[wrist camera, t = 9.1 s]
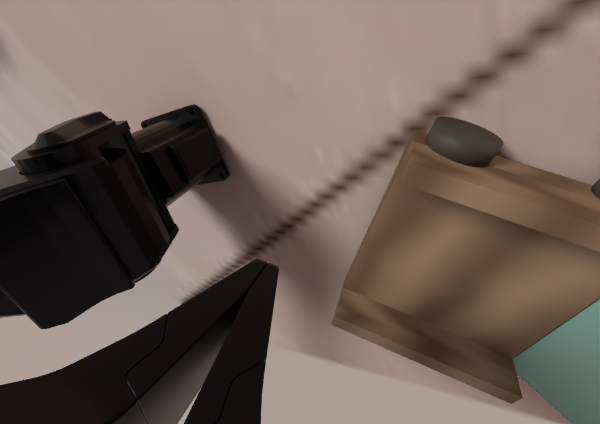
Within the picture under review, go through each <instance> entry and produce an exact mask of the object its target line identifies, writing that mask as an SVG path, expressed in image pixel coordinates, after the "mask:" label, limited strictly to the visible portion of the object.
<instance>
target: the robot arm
mask: <svg viewBox="0 0 600 424" xmlns="http://www.w3.org/2000/svg"><path fill="white" fill-rule="evenodd" d="M193 110H194V111H195V113H194V112H193ZM147 125H148V126H147ZM141 126H142V128H143V129H142V130H139V131H137V132H134V133H132V134H131V132H130V130H129V129H130V127H129V125H128V123H127V121H117V122H115V121H112V119H109V118H108V117H107V116H105V115H104V114H103V113H102V112H93V113H90V114H87V115H83V116H80V117H77V118H74V119H71V120H68V121H65V122H63V123H61V124H59V125H57V126H54V127H52V128H50V129H48V130H46V131H44V132H42V133H40V134H38V136H37V139H36V141H35V143H33V144H32V145H30V146H29V147H27V148H26V149H24V150H22V151H21V152H19V153H18V154H16V155H15V156H13V157H12V158H11V159H12V161H13V162H14V163H15V165H16V166H13V167H10V168H7V169H4V170H1V171H0V318H1V317H10V316H21V315H27V316H28V317H29V318H30V319H31V320H32V321H33V322H34V323H35V324H36V325H37V326H38V327H39V328H41V329H47V328H51V327H55V326H58V325H61V324H65V323H68V322H69V321H71V320H73V319H74V318H76V317H77V316H79V315H80V314H82V313H83V312H85V311H86V310H88V309H89V308H91V307H92V306H94V305H96V304H97V303H99V302H101V301H103V300H104V299H107V298H109V297H111V296H113V295H115V294H117V293H120V292H123V291H126V290H129V289H132V288H133V287H134V286H135V284H134V283H136V282H138V281H140V280H141V279H143V278H145V277H146V276H147V275H149V274H150V273H151V272H152V271H153V270H154V269H155V268H156V266H157V265H158V264H159V263H160V261H161V259H162V257H163V256H164V254H165V252H166V251H167V249H168V247H169V246H170V244H171V243H172V241H173V239H174V238H175V236H176V234H177V233H178V231H179V229H178V227H177V225H176V224H175V223H174V221H173V219H172V217H171V215H170V213H169V211H168V209H167V207H168V206H169V205H170V204H172V203H173V202H174V201H176V200H177V199H178V198H179V197H181V196H182V195H183V194H185V193H186V192H187V191H189V190H190V189H191V188H193V187H194V186H195V185H199V184H205V183H211V182H217V181H223V180H226V179H227V178H228V177H229V172H228V170H227V167H226V165H225V163H224V161H223V159H222V156H221V154H220V152H219V150H218V148H217V146H216V143H215V141H214V139H213V137H212V135H211V132H210V130H209V128H208V126H207V124H206V122H205V119H204V117H203V115H202V113H201V111H200V109H199V107H198V106H197V105H195V104H193V105H189V106H186V107H183V108H180V109H177V110H174V111H171V112H168V113H165V114H162V115H159V116H157V117H154V118H151V119H148V120H145V121H143V122H142V123H141ZM222 173H223V174H224V175H223V174H222ZM278 272H279V267H278V266H275V265H273V264H271V263H269V264H268V263H267V262H266V261H263V260H261V259H255V260H254V261H252V262H250V263H249V264H247V265H245V266H244V267H242V268H240V269H239V270H237V271H236V272H234V273H232V274H231V275H229V276H227V277H226V278H224V279H223V280H221V281H219V282H218V283H216V284H214V285H213V286H211V287H209V288H208V289H206V290H205V291H203V292H201V293H200V294H198V295H196V296H195V297H193V298H192V299H190V300H188V301H187V302H185V303H183V304H182V305H180V306H179V307H177V308H175V309H174V310H172V311H170V312H169V313H168V315H167V314H165V315H164V316H162V317H160V318H159V319H157V320H156V321H154V322H152V323H150V324H149V325H147V326H145V327H144V328H142V329H140V330H138V331H137V332H135V333H133V334H131V335H129V336H127V337H125V338H123V339H121V340H119V341H117V342H115V343H113V344H111V345H109V346H107V347H105V348H103V349H101V350H99V351H97V352H95V353H93V354H91V355H89V356H87V357H85V358H83V359H81V360H79V361H77V362H75V363H73V364H71V365H69V366H66V367H64V368H62V369H60V370H57V371H55V372H52V373H49V374H46V375H43V376H39V377H36V378H31V379H27V380H22V381H18V382H13V383H8V384H4V385H0V424H178V422H179V420H180V419H181V417H182V416H183V414H184V413H185V411H186V410H187V408H188V407H189V405H190V404H191V402H192V401H193V399H194V397H195V396H196V394H197V393H198V391H199V390H200V388H201V387H202V388H201V390H200V392H199V394H198V396H197V398H196V400H195V402H194V404H193V406H192V408H191V410H190V412H189V414H188V416H187V418H186V420H185V422H184V424H261V403H262V388H263V379H264V372H265V364H266V357H267V349H268V343H269V336H270V329H271V321H272V314H273V307H274V300H275V293H276V286H277V279H278Z"/></svg>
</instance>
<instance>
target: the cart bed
mask: <svg viewBox="0 0 600 424" xmlns="http://www.w3.org/2000/svg"><path fill="white" fill-rule="evenodd" d="M502 145H503V141H502V140H501V139H500V138H499V137H498V136H497V135H495V134H494V133H492V132H490V131H488V130H486V129H484V128H482V127H480V126H477V125H475V124H472V123H469V122H466V121H463V120H459V119H455V118H449V117H439V118H437V119H436V120H435V122H434V124H433V126H432V128H431V130H430V132H429V134H426V133H423V132H419V131H416V130H414V131H413V133H412V136H411V138H410V140H409V142H408V144H407V146H406V148H405V151H404V153H403V155H402V157H401V159H400V161H399V164H398V166H397V168H396V170H395V172H394V174H393V177H392V179H391V181H390V183H389V185H388V187H387V190H386V192H385V194H384V196H383V198H382V200H381V203H380V205H379V207H378V209H377V211H376V213H375V216H374V218H373V220H372V222H371V224H370V226H369V229H368V231H367V233H366V235H365V237H364V239H363V241H362V244H361V246H360V248H359V250H358V252H357V254H356V257H355V259H354V261H353V263H352V265H351V267H350V270H349V272H348V274H347V276H346V278H345V281H344V284H343V288H342V291H341V294H340V298H339V301H338V304H337V308H336V311H335V314H334V318H333V321H332V325H334V326H336V327H338V328H341V329H343V330H345V331H347V332H350V333H352V334H354V335H357V336H359V337H361V338H363V339H366V340H368V341H370V342H372V343H375V344H377V345H379V346H381V347H384V348H386V349H388V350H391V351H393V352H395V353H397V354H400V355H402V356H404V357H406V358H409V359H411V360H413V361H416V362H418V363H420V364H422V365H425V366H427V367H429V368H431V369H434V370H436V371H438V372H440V373H443V374H445V375H447V376H450V377H452V378H454V379H456V380H459V381H461V382H463V383H465V384H468V385H470V386H472V387H475V388H477V389H479V390H481V391H484V392H486V393H488V394H490V395H493V396H495V397H497V398H500V399H502V400H504V401H506V402H509V403H511V404H512V403H514V402H516V401H518V400H519V399H521V398H522V394H521V390H520V386H519V382H518V378H517V374H516V370H515V366H514V363H513V359H512V358H513V357H515V356H516V355H518V354H519V353H520V352H522V351H523V350H525V349H526V348H528V347H529V346H531V345H532V344H533V343H535V342H536V341H538V340H539V339H541V338H542V337H544V336H545V335H547V334H548V333H549V332H551V331H552V330H554V329H555V328H557V327H558V326H560V325H561V324H562V323H564V322H565V321H567V320H568V319H570V318H571V317H573V316H574V315H575V314H577V313H578V312H580V311H581V310H583V309H584V308H586V307H587V306H589V305H590V304H591V303H593V302H594V301H596V300H597V299H599V298H600V179H599V180H598V181H597V182H596V183H595V184H594V185H593V186H592V185H589V184H586V183H582V182H579V181H576V180H573V179H570V178H566V177H563V176H560V175H557V174H554V173H550V172H547V171H544V170H541V169H538V168H534V167H531V166H528V165H525V164H522V163H519V162H515V161H512V160H509V159H506V158H503V157H499V156H496V154H497V153H498V151H499V150H500V148H501V147H502Z"/></svg>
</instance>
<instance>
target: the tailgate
mask: <svg viewBox="0 0 600 424" xmlns="http://www.w3.org/2000/svg"><path fill="white" fill-rule="evenodd" d="M512 359H513V363H514V366H515V370H516V373H518V374H519V375H520V376H521V377H522V378H523V379H524V380H525V381H526V382H527V383H528V384H529V385H531V386H532V387H533V388H534V389H535V390H536V391H537V392H538V393H539V394H540V395H541V396H543V397H544V398H545V399H546V400H547V401H548V402H549V403H550V404H551V405H552V406H553V407H554V408H556V409H557V410H558V411H559V412H560V413H561V414H562V415H563V416H564V417H565V418H566V419H568V420H569V421H570V422H571V423H572V424H600V298H599V299H597V300H596V301H594V302H593V303H591V304H590V305H589V306H587V307H586V308H584V309H583V310H581V311H580V312H578V313H577V314H575V315H574V316H573V317H571V318H570V319H568V320H567V321H565V322H564V323H562V324H561V325H560V326H558V327H557V328H555V329H554V330H552V331H551V332H549V333H548V334H547V335H545V336H544V337H542V338H541V339H539V340H538V341H536V342H535V343H533V344H532V345H531V346H529V347H528V348H526V349H525V350H523V351H522V352H520V353H519V354H518V355H516V356H515V357H513V358H512Z"/></svg>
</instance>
